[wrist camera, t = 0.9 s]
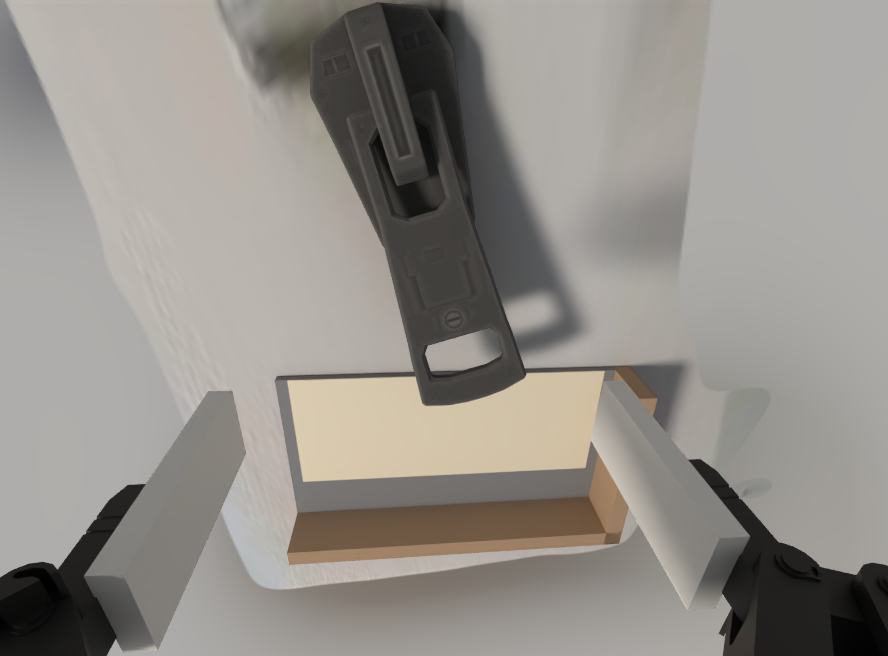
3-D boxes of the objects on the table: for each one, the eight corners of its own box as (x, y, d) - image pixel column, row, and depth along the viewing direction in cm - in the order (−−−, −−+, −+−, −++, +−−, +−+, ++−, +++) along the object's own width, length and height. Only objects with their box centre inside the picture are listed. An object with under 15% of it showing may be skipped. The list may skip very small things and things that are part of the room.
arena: (276, 376, 37) (259, 412, 32) (628, 366, 40) (657, 398, 35) (300, 518, 44) (289, 564, 40) (598, 502, 47) (619, 543, 42)
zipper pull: (418, 418, 32) (265, 14, 21) (415, 371, 38) (295, 37, 27) (538, 384, 32) (445, -44, 21) (516, 342, 38) (435, -8, 27)
